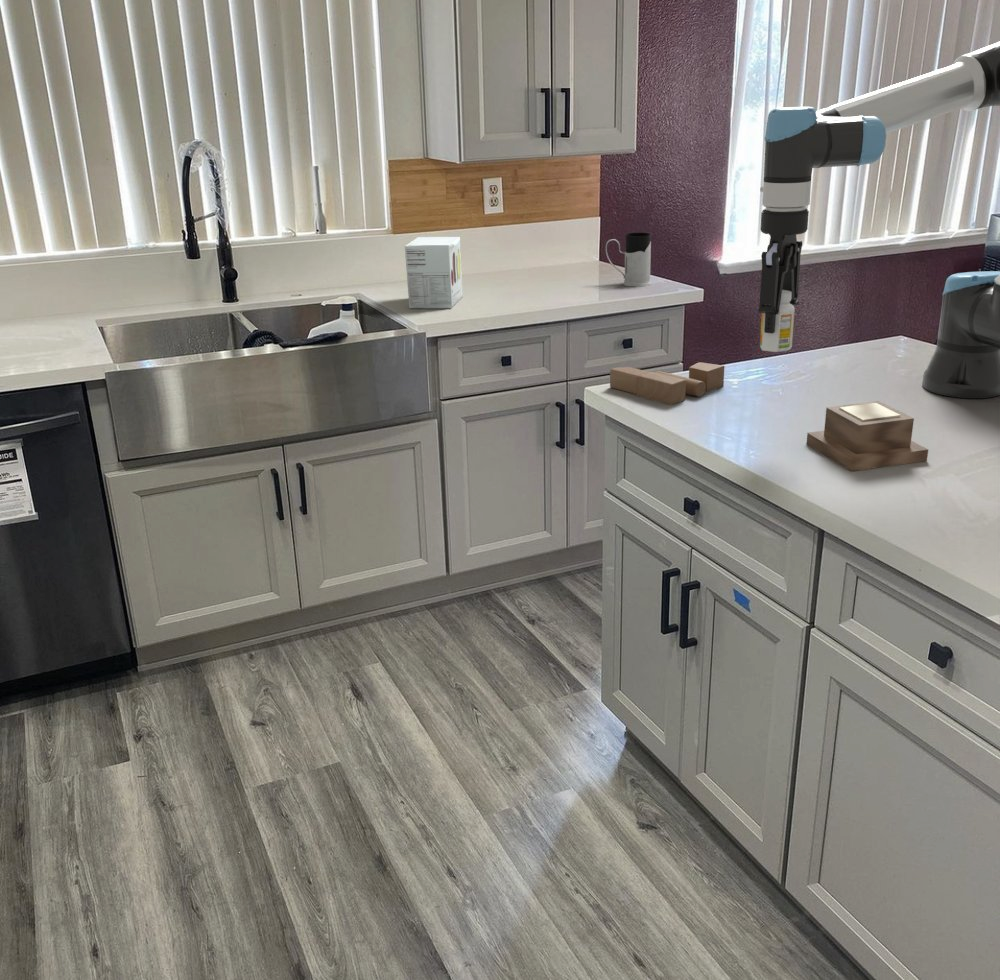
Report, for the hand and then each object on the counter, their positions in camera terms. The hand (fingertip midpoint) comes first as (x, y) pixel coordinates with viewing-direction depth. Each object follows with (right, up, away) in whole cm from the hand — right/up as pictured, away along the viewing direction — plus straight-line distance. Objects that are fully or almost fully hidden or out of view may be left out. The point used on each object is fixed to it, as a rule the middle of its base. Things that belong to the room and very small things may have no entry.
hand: (776, 346), depth 172 cm
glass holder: (-8, +39, +137) cm, 143 cm away
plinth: (+14, -18, -2) cm, 23 cm away
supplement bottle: (0, -1, 0) cm, 1 cm away
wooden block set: (-13, -4, +36) cm, 39 cm away
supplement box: (-66, +30, +123) cm, 143 cm away
